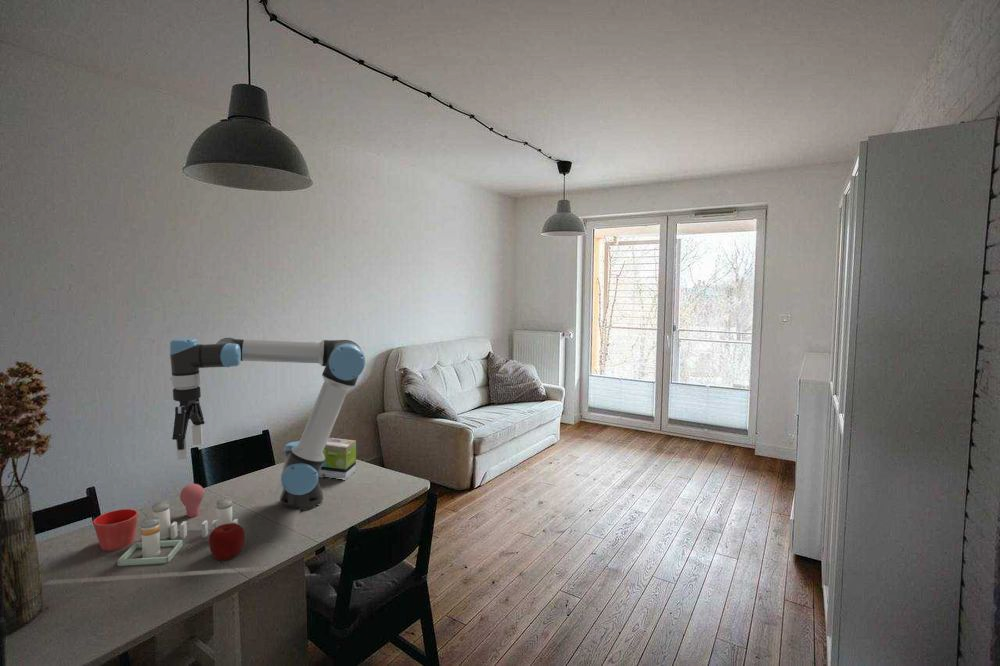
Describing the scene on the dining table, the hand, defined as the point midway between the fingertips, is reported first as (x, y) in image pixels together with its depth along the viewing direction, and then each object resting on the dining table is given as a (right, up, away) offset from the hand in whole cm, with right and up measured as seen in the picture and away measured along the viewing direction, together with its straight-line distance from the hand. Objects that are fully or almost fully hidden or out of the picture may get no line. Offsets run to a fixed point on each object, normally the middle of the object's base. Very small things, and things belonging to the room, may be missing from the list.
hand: (190, 451), depth 166 cm
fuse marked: (-4, -28, -13) cm, 31 cm away
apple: (+18, -29, -12) cm, 36 cm away
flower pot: (-18, -28, -8) cm, 34 cm away
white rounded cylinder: (+11, -27, -1) cm, 29 cm away
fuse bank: (+3, -28, -2) cm, 28 cm away
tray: (-3, -29, -13) cm, 32 cm away
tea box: (+29, -23, +53) cm, 65 cm away
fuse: (-6, -26, -4) cm, 27 cm away
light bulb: (-6, -26, +11) cm, 29 cm away
